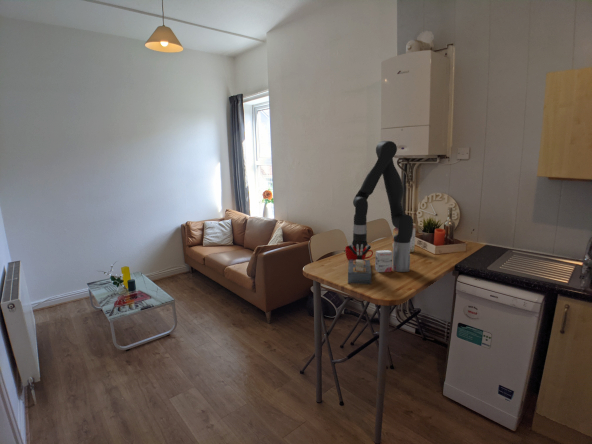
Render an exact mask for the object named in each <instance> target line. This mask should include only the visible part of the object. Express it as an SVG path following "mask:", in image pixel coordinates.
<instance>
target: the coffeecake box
mask: <svg viewBox="0 0 592 444" xmlns="http://www.w3.org/2000/svg"><path fill="white" fill-rule="evenodd" d="M392 225H393V224H392ZM416 226H417V225H416V223H413V233H412V237H411V240H410V253H412V252H414V251H415V243H416V241H415V240H416ZM397 234H398V228H396V227H394V225H393V226H392V245H391V246H392V248H393V243H394V236H395V235H397Z"/></svg>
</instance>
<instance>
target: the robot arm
mask: <svg viewBox="0 0 592 444" xmlns="http://www.w3.org/2000/svg"><path fill="white" fill-rule="evenodd" d="M397 151H398V146H397V144H396V143H395V142H394V141H391V140H382V141H379V142H378V143H377V144H376V146H375V153H376V154H375V155H376V156H377V157H376V158H377V160H376V162H375V163H374V166H373V167H372V168H371V170H369V172H368V173H367V175H366V176H365V178H364V180H363V182H362V184H361V187H360V189H359V190H358V191H357V193H356V194H355V196H354V198H353V200H352V201H353V202H352V203H353V206H354V207H355V209H354V210H355V211H354V212H355V213H354V215H353V228H352V229H353V230H352V242H351V244H349V245H348V246H349V248H350V249H351V251H352V252H353V253H354V254H356V255H357V260H362V255H365V254H366V253H369V252H370V251H369V250H371V249H372V246H371V245H370V244H368V241H367V240H368V239H367V236H368V228H367V219H368V217H367V215H368V210H369V209H368V208H369V203H368V198H369V197H370V195H372V194H373V193H374V192H375V191H374V190H375V188H376V186H377V184H378V182H379V181H380V179H381V177H382V178H383V182H384V184H383V185H384V188H385V192H386V195H387V196H386V197H387V201H388V204H389V208H390V209H389V210H390V217H391V219H390V220H391V223H392V225H394V227H396V228H398V234H397V235H395V236H394V243H393V247H392V248H393V249H392V252H393V255H392V271H394V272H398V273H399V272H400V273H405V272H406V273H407V272H410V270H411V269H410V268H411V267H410V266H411V255H410V254H411V252H410V240H411V237H412V233H413V224H414V219H413V216H411V215H409V214H407V213H405V212H404V209H403V205H402V204H403V203H402V201H403V197H404V185H403V181H402V178H401V176H400V174H399V172H398V170H397V168H396V166H395V163H394V157H395V155H396V154H397ZM353 246H354V247H355V248H356V249H357V252H356V251H355V250H354V249H353ZM365 247H366V249H365V251H364V252H363V249H364V248H365ZM359 249H360V255H359ZM368 251H369V252H368ZM366 255H367V254H366Z"/></svg>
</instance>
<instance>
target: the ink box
mask: <svg viewBox="0 0 592 444" xmlns="http://www.w3.org/2000/svg"><path fill="white" fill-rule="evenodd" d="M392 265H393V251H391V250H389V249H388V250H387V249H386V250H384V249H383V250H375V267H374V269H375V271H376V272H377V273H387V272H388V273H389V272H390V273H391V272H393V269H392Z"/></svg>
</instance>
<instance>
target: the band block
mask: <svg viewBox="0 0 592 444" xmlns="http://www.w3.org/2000/svg"><path fill="white" fill-rule="evenodd" d="M370 261H371V260H370V259H364V268H363V271H356V260H352V259H349V261H348V268H347V269H348V270H347V284H351V283H354V284H355V285H372V269H371V262H370Z"/></svg>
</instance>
